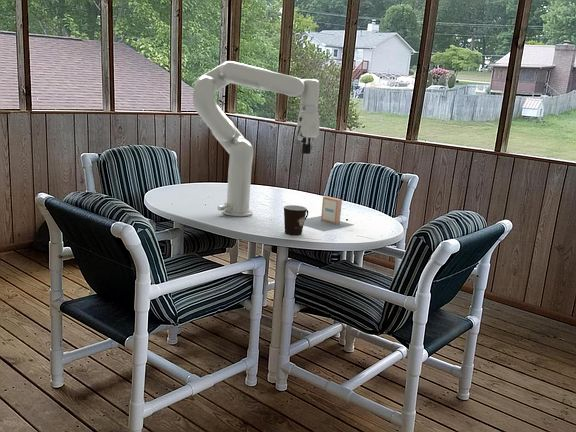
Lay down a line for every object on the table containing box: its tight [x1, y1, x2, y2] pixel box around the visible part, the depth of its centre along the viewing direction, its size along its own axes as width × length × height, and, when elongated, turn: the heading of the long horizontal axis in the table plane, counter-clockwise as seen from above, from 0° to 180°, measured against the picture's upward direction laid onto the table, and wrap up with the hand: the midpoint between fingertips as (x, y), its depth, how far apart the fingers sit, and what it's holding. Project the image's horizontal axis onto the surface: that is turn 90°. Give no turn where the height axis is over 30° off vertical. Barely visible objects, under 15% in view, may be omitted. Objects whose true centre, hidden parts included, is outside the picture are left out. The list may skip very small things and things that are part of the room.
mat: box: [303, 215, 354, 232], centre depth 228 cm, size 20×18×1 cm
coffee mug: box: [283, 204, 309, 237], centre depth 210 cm, size 12×9×10 cm
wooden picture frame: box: [320, 195, 343, 224], centre depth 231 cm, size 3×8×10 cm, turn 47°
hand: (306, 153), depth 237 cm, fingers closed
